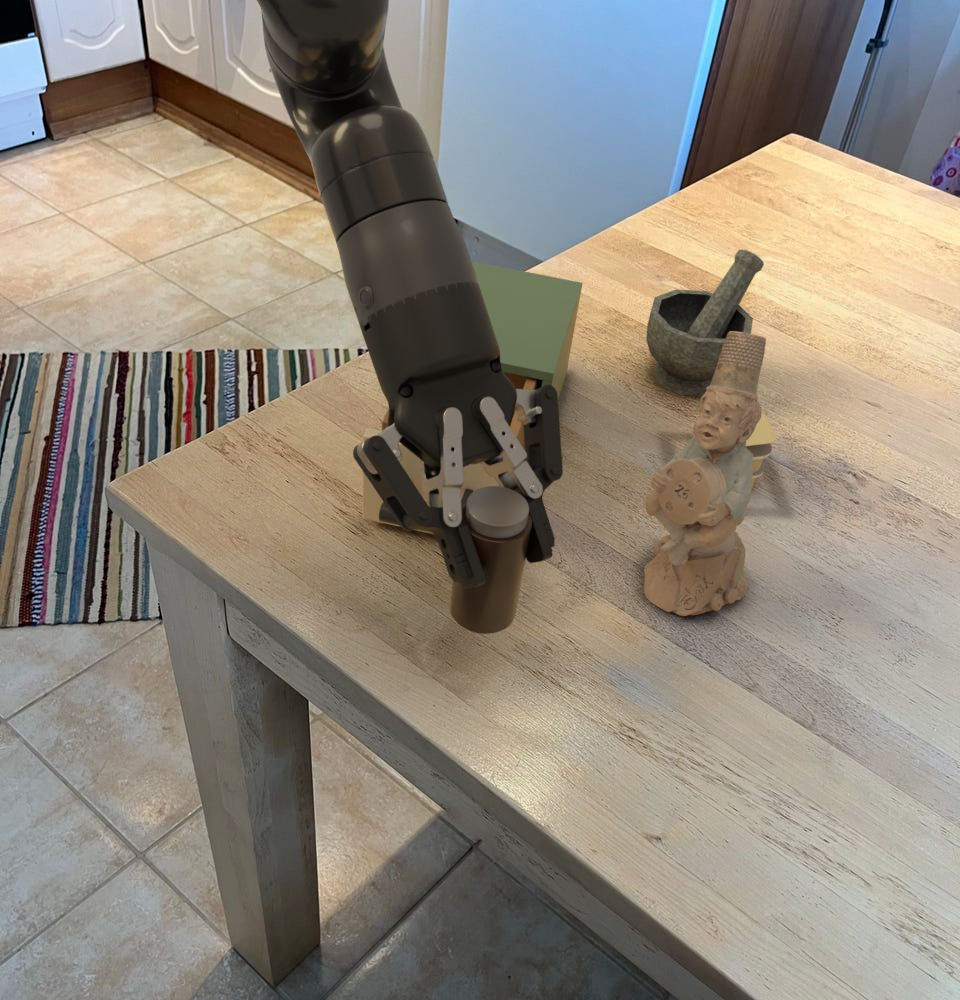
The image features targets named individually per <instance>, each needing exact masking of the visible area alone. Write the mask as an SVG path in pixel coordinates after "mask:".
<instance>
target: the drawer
mask: <svg viewBox="0 0 960 1000" xmlns="http://www.w3.org/2000/svg"><path fill="white" fill-rule="evenodd" d="M504 374H505V375H506V376H507V378H508V379H509V380H510V381H511V382H512V383H513V385H514V386H515V389H530V390H537V389H538V385H539V379H536V378H531V377H526V376H521V375H516V374H511V373H506V372H504ZM388 415H389V408H388V409H387V411H386V413H385V415H384V417H383V419H382V421H381V429H375V428H371V427H367V428H366V430H365V432H364V434H363V436H362V441H364V440H366V439H368V438H370V437H372V436H376V435H377V434H378V433H380V432H381V431H383V430H384V429H386V428H387V427H388ZM517 416H518V415H517V412H516V411H515V409H514V413H513V417H512V422H511V426H510V428H511V429H512V431H513V433H514V434H515V436H516V437H517V439H518V440H519V442H520V443H521V445H522V447H523V448H524V450H525V441H524V427H523V424H522V423H521V422H519V421H518V420H517ZM399 449H400V451H401V454H402V460H401V462H400V464H401V465H402V467H403V468H404V470H405V471H406V473H407V474H408V476H409V477H410V479H411V480H412V482H413V483H414V485H415V486H416V488H417V489H418V491H419V493H420V494H421V496H422V497H423V499H424V500H425V502H426V496H425V494H424V493H423V491H422V481H421V463H420V459H419V458H418V457H417V456H416V455H414V454H413V453H412V452H411V451H409V450H408V449H407V448H406V447H405V446H403V445H402V444H401V443H400V442H399ZM500 454H501V453H500ZM501 455H502V454H501ZM463 475H464V482H463V485H462V487H461V508H463V507H464V506H465V505H466V503H467V499H468V497H469V496H470V495H471V494H472V493H473V492H474V491H476V490H478V489H480V488H483V487H488V486H499V487H500V485H499V484H498V482H497V481H496V479H495V478H493V477H491V476H489V475H488V474H487V472H486V471H485V469H484V468H483V466H482V465H481V463H478V464H469V465H468V466H465V467H463ZM361 515H362V517H361V518H362V519H363V520H367V521H373V522H375V523H381V524H386V525H391V526H395V527H399V528H401V527H400V525H399V524H398V522H397V521H396V520H395V518H394V517H393V515H392V514H391V512H390V511H389V509H388V508H387V506H386V505H385V503H384V502H383V500H382V499H381V497H380V496H379V494H378V493H377V491H376V490H375V488H374V487H373V485H372V484H371V482H370V481H369V479H368V478H367V477H366V475H365V474H364V472H363V471H362V514H361ZM416 531H417V532H423V533H427V534H432V535H434V534H433V533H432V532H430V531H428V530H416Z"/></svg>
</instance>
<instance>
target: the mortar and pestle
mask: <svg viewBox="0 0 960 1000" xmlns="http://www.w3.org/2000/svg"><path fill="white" fill-rule="evenodd" d="M764 266H765V264H764V261H763V260H762V259H761V258H760V257H759V256H758V255H757V254H755V253H754V252H752V251H750V250H747V249H738V250H737V251H736V253H735V254H734V261H733V263H732V265H730V268H729V269H728V271H727V272H726V273H725V275H724V276H723V278H722V280H721V281H720V283H718V285H717V287H715V289H714V291H713V292H710V291H707V290H694V289H679V288H678V289H674V290H671V291H667V292H665V293H663V294H660V295H657V296H655V297H654V299H653V302H652V304H651V305H652V306H651V310H650V314H649V316H648V321H647V325H646V339H645V341H646V344H647V347H648V351H649V354H650V355H651V356H652V357H653V359H654V360H655V361H656V365H655V369H654V372H653V378H654V379H655V380H656V381H657V383H658V384H659V385H660V386H661V388H663V389H666V390H668V391H670V392H673V393H676V394H678V395H680V396H700V397H702V396H703V394H705V392H706V388H707V387H708V386H710V383H711V381H712V378H713V376H714V373H715V370H716V367H717V364H718V360H719V357H720V353H721V351H722V347H723V345H724V342H725V339H726V337H727V334H728V332H730V331H735V332H736V331H737V332H744V333H749V334H752V329H753V321H754V318H753V316H751V315H750V314H749V312H747V311H746V310H745V309H744V308H743V307H742V306H741V305H740V303H741V302H742V300H743V298H744V297H745V295H746V293H747V290H748V289H749V286H750V285H751V283H752V281H753V279H754V278H755V275H756V274H758V273H759V272H761V271H762V269H763V267H764Z"/></svg>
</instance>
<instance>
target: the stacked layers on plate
mask: <svg viewBox="0 0 960 1000" xmlns="http://www.w3.org/2000/svg"><path fill="white" fill-rule="evenodd" d="M761 410H762V414H761V418H760V420H759V422H758V423H757V424H756V428H755V430H754V432H753V433H752V435H751V436H750V438H749V439H748V440H746V446H745V447H746V448H747V449H748V450H749V451H750V452H751V453H753V465H752V466H753V477H752V485H751V490H752V489H753V488H754V485H755V482H756V479H757V478H759V477H761V476H762V475H763V474H764V470H765V464H764V463H763V461H764V459H765V458H768V457H769V456H770V455H771V453H772V450H773V447H772V443H773V442H774V441H776V439H777V432H776V431H775V429H774V427H773V425H772V424H771V422H770V420H769V419H768V417H767V415H766V414H765V412H764V410H763V409H761Z"/></svg>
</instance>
